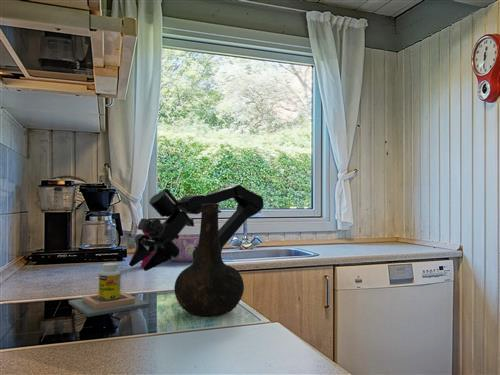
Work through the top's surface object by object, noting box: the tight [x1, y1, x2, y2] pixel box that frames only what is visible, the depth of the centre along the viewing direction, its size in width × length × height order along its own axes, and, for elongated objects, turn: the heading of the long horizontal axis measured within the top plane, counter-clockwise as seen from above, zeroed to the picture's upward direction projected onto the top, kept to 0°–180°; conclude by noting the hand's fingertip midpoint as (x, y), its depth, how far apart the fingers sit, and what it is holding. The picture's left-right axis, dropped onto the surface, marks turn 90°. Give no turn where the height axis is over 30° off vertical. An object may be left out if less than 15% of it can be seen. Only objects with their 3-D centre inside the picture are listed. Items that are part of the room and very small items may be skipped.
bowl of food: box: [171, 233, 200, 263], centre depth 190 cm, size 20×20×12 cm
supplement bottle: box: [98, 262, 122, 302], centre depth 109 cm, size 6×6×10 cm
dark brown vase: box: [173, 203, 245, 318], centre depth 102 cm, size 18×18×28 cm
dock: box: [68, 291, 150, 318], centre depth 108 cm, size 16×16×2 cm
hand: (136, 267), depth 114 cm, fingers open, 9 cm apart
